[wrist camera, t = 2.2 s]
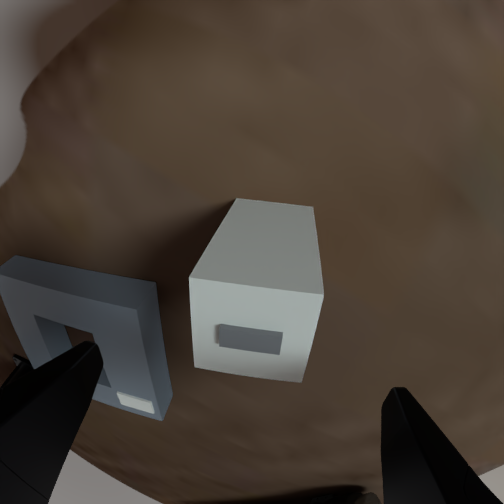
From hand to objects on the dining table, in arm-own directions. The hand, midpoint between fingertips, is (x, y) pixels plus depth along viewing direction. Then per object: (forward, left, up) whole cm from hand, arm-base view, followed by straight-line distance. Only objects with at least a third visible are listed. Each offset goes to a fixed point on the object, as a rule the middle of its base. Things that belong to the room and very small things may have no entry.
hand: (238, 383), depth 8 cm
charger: (0, 0, -10) cm, 10 cm away
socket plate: (-14, -10, -10) cm, 20 cm away
